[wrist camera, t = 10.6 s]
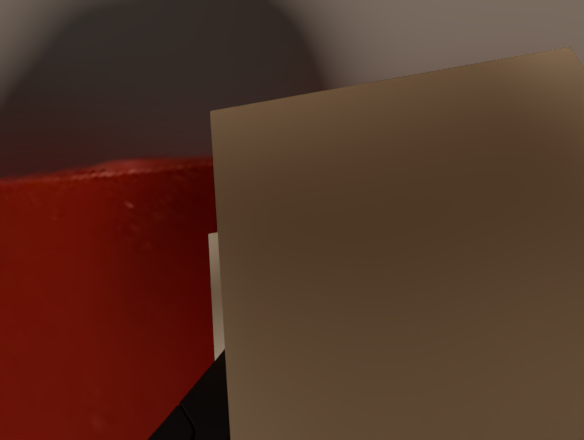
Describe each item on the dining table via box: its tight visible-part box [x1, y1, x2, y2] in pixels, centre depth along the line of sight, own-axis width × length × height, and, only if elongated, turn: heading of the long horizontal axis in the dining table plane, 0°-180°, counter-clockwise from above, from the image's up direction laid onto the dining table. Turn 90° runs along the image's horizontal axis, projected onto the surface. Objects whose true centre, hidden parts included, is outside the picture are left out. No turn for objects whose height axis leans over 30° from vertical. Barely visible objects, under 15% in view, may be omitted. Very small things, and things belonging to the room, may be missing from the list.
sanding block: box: [210, 47, 584, 440], centre depth 9 cm, size 7×5×11 cm
